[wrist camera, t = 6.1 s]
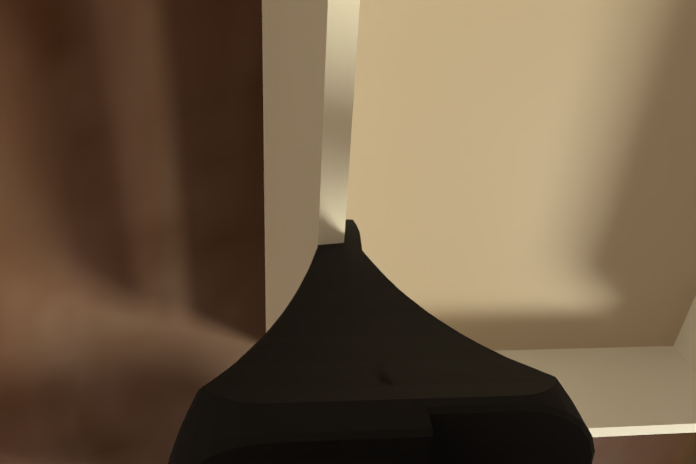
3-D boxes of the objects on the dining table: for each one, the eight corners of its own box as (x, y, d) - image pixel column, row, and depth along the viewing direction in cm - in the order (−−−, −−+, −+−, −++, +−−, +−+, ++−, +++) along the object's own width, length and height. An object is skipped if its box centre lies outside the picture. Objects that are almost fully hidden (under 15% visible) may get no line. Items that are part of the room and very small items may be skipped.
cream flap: (285, -277, 11) (258, -281, 10) (385, -388, 6) (343, -398, 6) (281, 456, 20) (267, 460, 20) (320, 597, 16) (303, 602, 16)
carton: (673, 346, 27) (748, 429, 23) (293, 356, 25) (296, 451, 21) (894, -161, 17) (1099, -185, 13) (303, -219, 15) (314, -270, 11)
